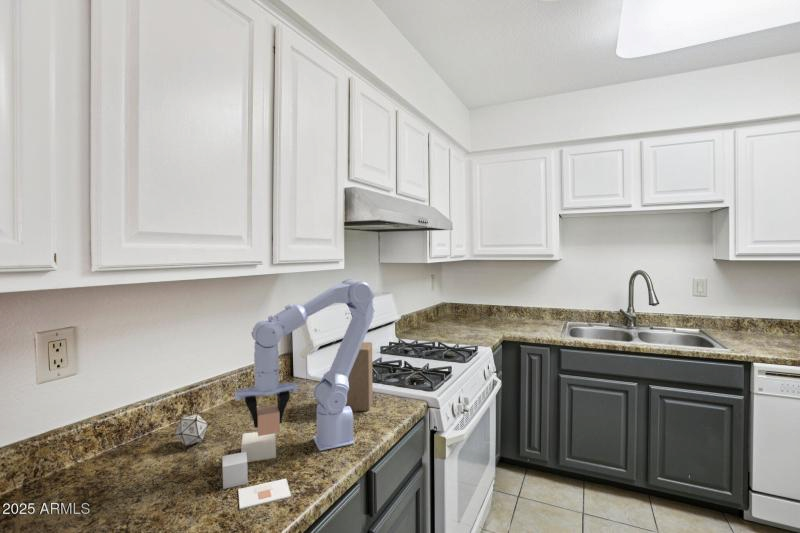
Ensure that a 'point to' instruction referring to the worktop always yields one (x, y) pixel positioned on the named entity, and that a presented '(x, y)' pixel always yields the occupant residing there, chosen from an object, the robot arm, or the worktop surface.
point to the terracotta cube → (268, 420)
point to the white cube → (235, 470)
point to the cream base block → (258, 446)
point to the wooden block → (361, 380)
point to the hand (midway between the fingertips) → (267, 424)
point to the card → (263, 493)
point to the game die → (191, 429)
